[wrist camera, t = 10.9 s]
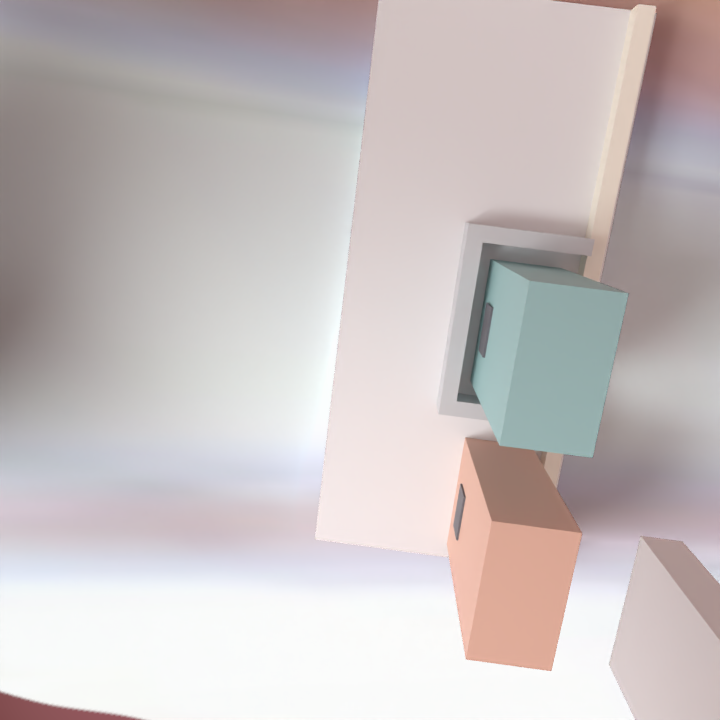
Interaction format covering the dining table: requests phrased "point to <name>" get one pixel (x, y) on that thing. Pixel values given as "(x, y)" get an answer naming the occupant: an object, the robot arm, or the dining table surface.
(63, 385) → the dining table surface
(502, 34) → the shelf
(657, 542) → the robot arm
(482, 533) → the terracotta carton
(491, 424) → the teal carton
